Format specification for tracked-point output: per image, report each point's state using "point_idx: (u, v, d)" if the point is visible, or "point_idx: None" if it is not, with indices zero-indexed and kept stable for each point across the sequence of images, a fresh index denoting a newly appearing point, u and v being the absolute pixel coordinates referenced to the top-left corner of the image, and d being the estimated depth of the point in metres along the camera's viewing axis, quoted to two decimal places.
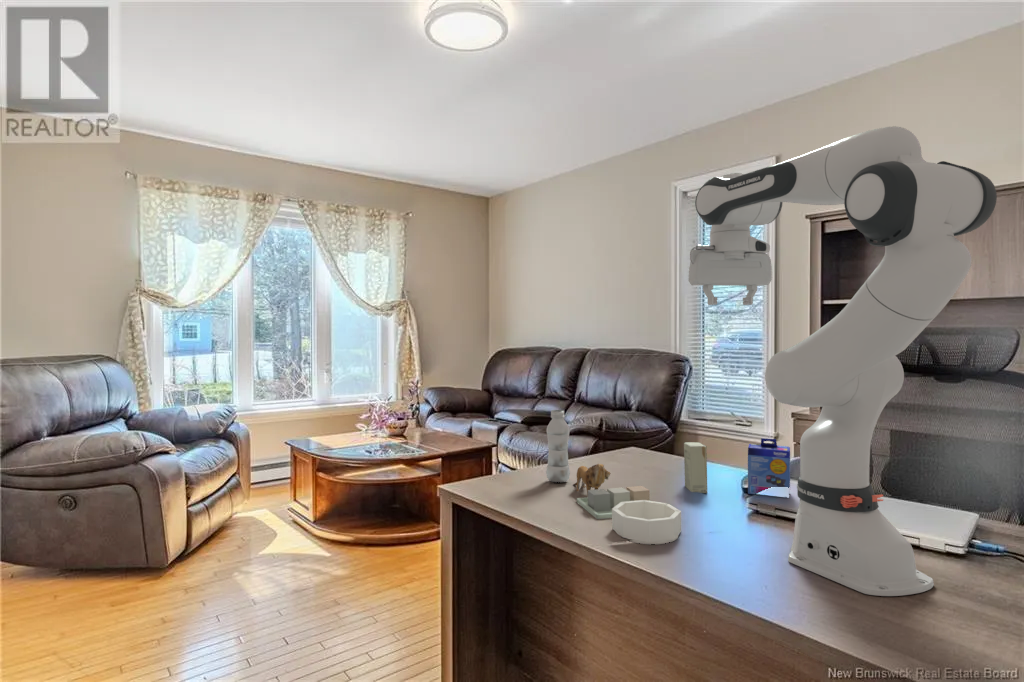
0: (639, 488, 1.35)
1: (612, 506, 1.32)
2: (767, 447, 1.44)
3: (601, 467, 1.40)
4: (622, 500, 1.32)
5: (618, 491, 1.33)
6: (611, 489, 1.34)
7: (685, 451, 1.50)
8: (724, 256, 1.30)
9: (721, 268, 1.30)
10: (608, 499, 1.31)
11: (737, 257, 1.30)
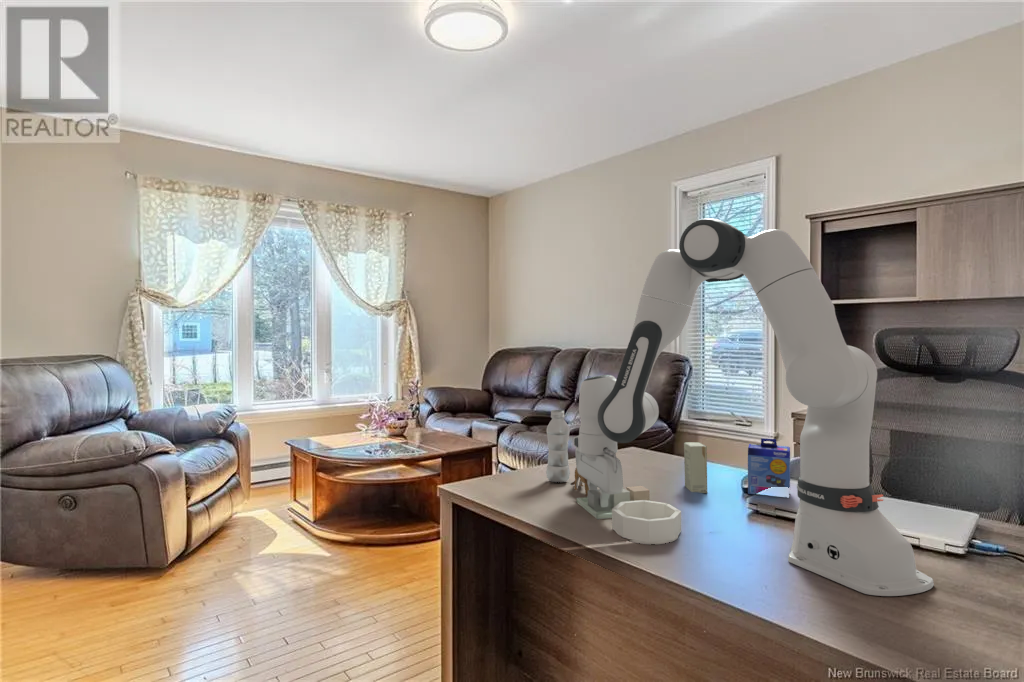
0: (639, 488, 1.35)
1: (612, 506, 1.32)
2: (767, 447, 1.44)
3: None
4: (622, 500, 1.32)
5: None
6: None
7: (685, 451, 1.50)
8: None
9: None
10: (608, 499, 1.31)
11: None
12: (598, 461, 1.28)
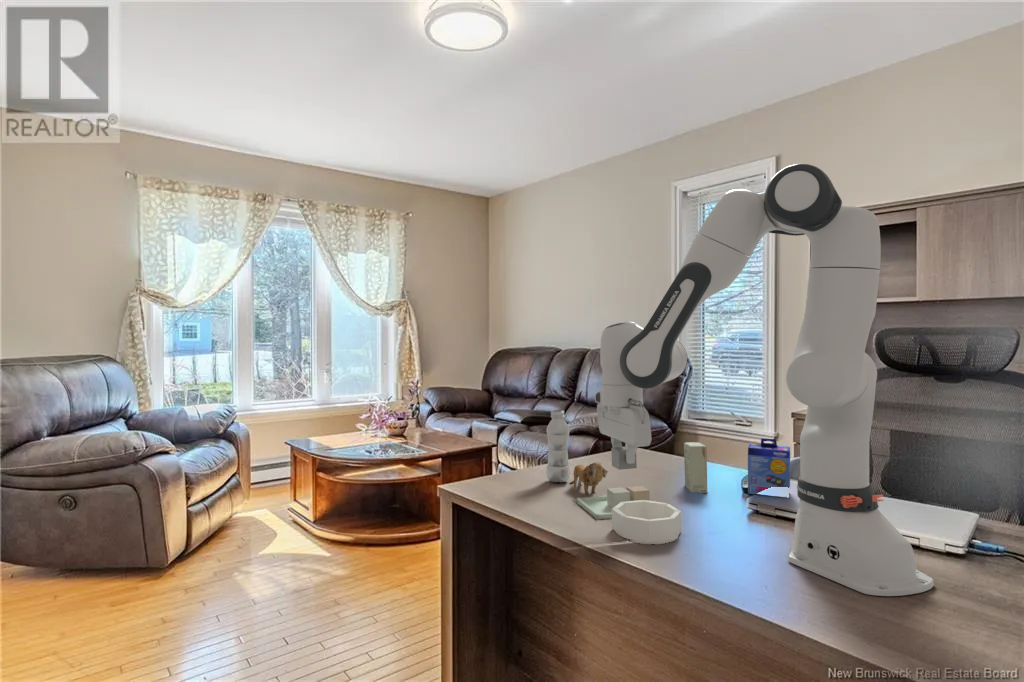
0: (639, 488, 1.35)
1: (612, 506, 1.32)
2: (767, 447, 1.44)
3: (599, 465, 1.42)
4: (622, 500, 1.32)
5: (618, 491, 1.33)
6: (611, 489, 1.34)
7: (685, 451, 1.50)
8: None
9: None
10: None
11: None
12: (623, 413, 1.18)
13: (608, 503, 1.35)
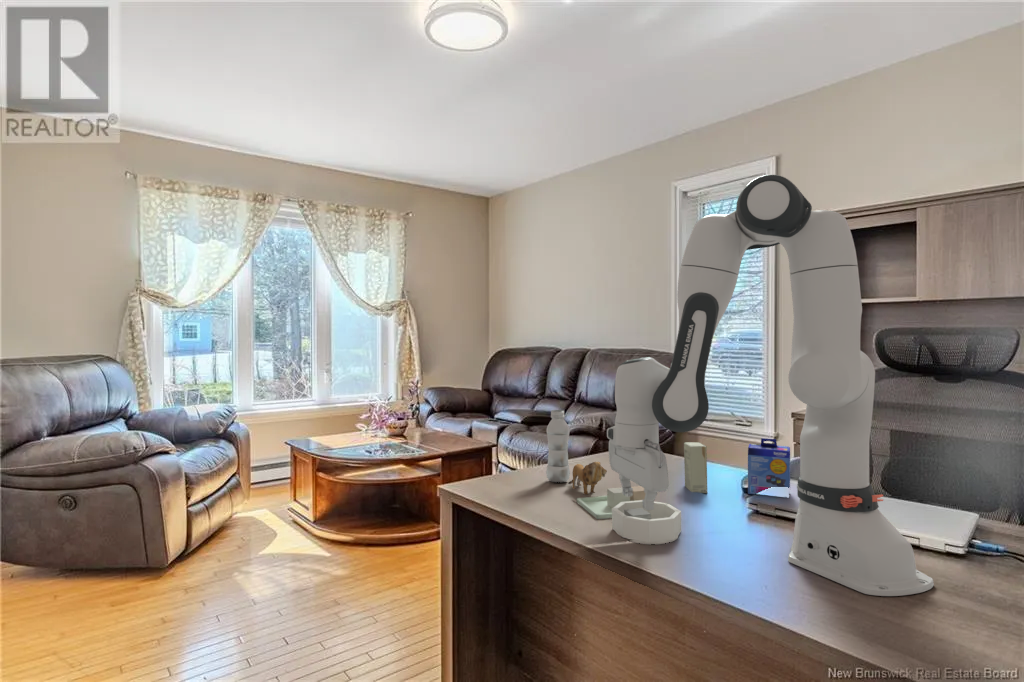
0: (639, 488, 1.35)
1: (612, 506, 1.32)
2: (767, 447, 1.44)
3: (598, 465, 1.43)
4: (622, 500, 1.32)
5: (618, 491, 1.33)
6: (611, 489, 1.34)
7: (685, 451, 1.50)
8: None
9: None
10: None
11: None
12: (638, 454, 1.12)
13: (608, 503, 1.35)
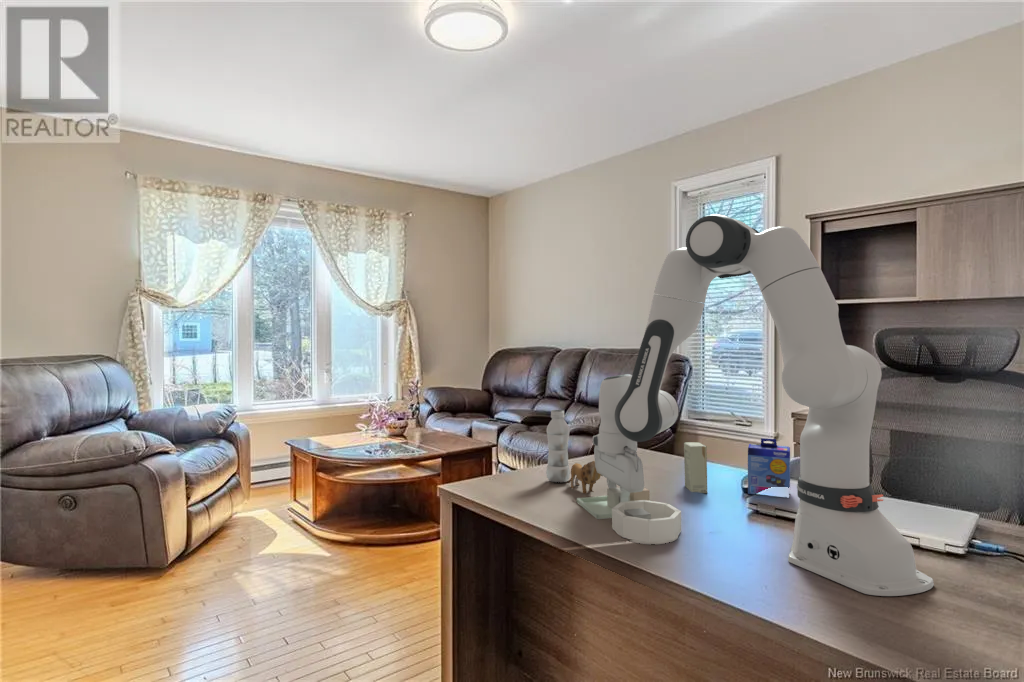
0: None
1: (612, 506, 1.32)
2: (767, 447, 1.44)
3: None
4: None
5: (618, 491, 1.33)
6: (611, 489, 1.34)
7: (685, 451, 1.50)
8: None
9: None
10: None
11: None
12: (619, 459, 1.29)
13: (608, 503, 1.35)
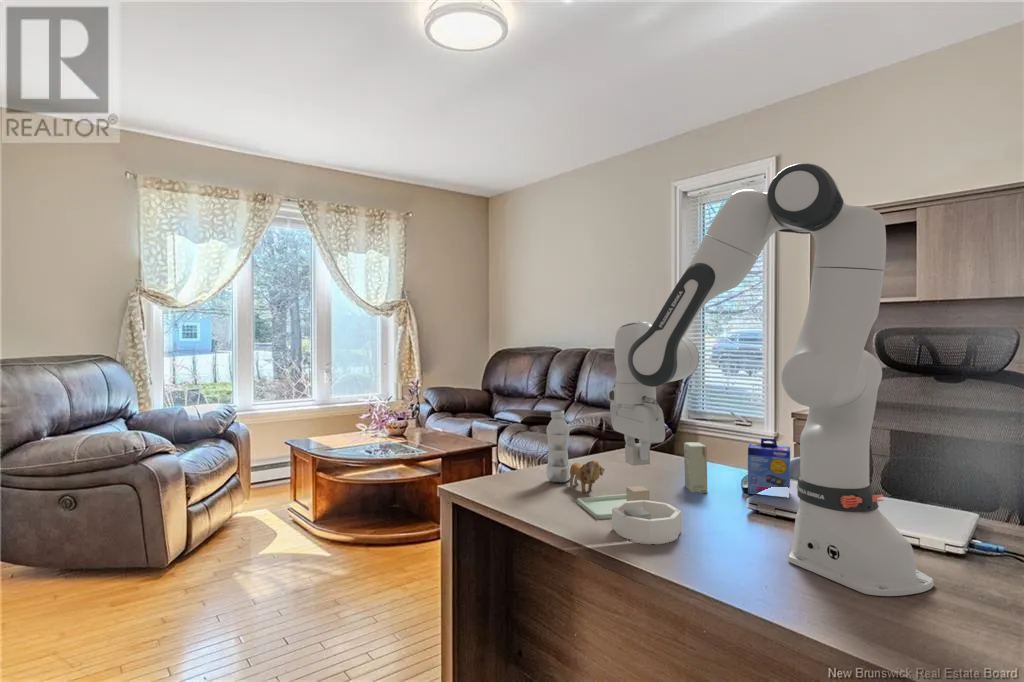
0: (639, 488, 1.35)
1: (631, 461, 1.25)
2: (767, 447, 1.44)
3: (596, 463, 1.44)
4: None
5: (637, 446, 1.25)
6: (629, 444, 1.27)
7: (685, 451, 1.50)
8: None
9: None
10: None
11: None
12: (637, 410, 1.21)
13: (626, 460, 1.27)
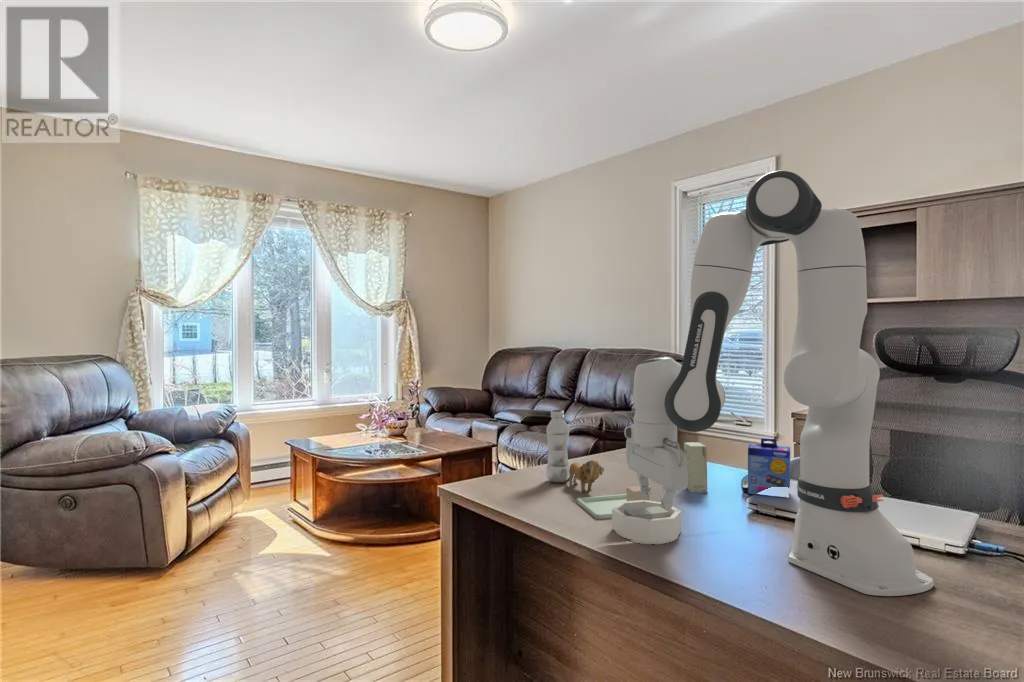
0: (639, 488, 1.35)
1: None
2: (767, 447, 1.44)
3: (596, 463, 1.44)
4: None
5: (655, 511, 1.17)
6: (647, 509, 1.19)
7: (685, 451, 1.50)
8: None
9: None
10: None
11: None
12: (658, 453, 1.13)
13: None
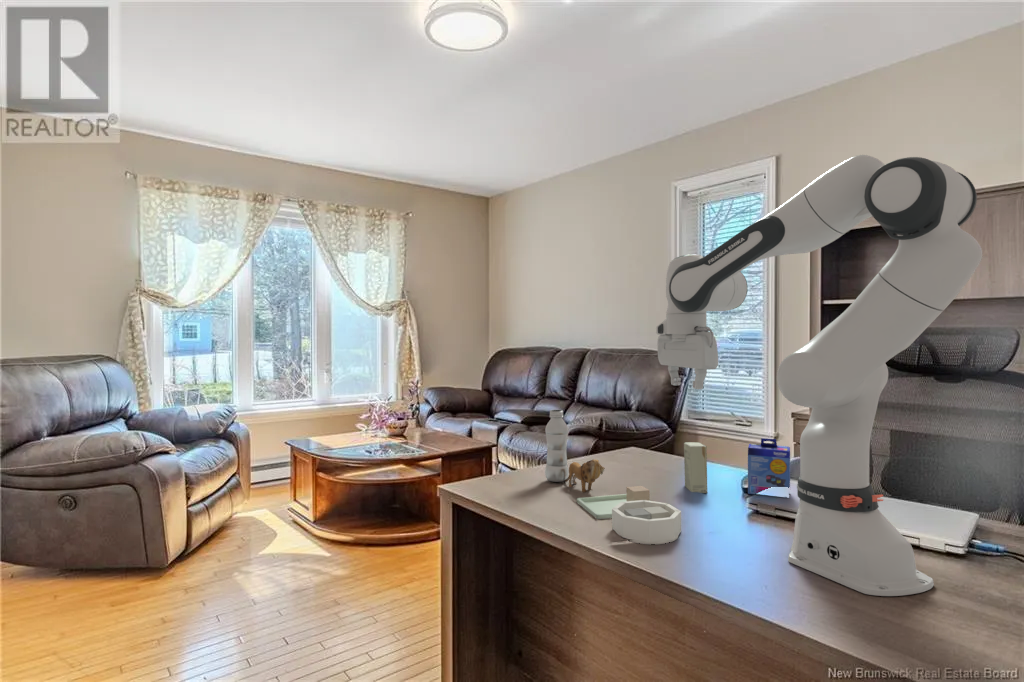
0: (639, 488, 1.35)
1: None
2: (767, 447, 1.44)
3: (597, 462, 1.45)
4: None
5: (655, 511, 1.17)
6: (647, 509, 1.19)
7: (685, 451, 1.50)
8: None
9: None
10: None
11: None
12: (689, 339, 1.25)
13: None
